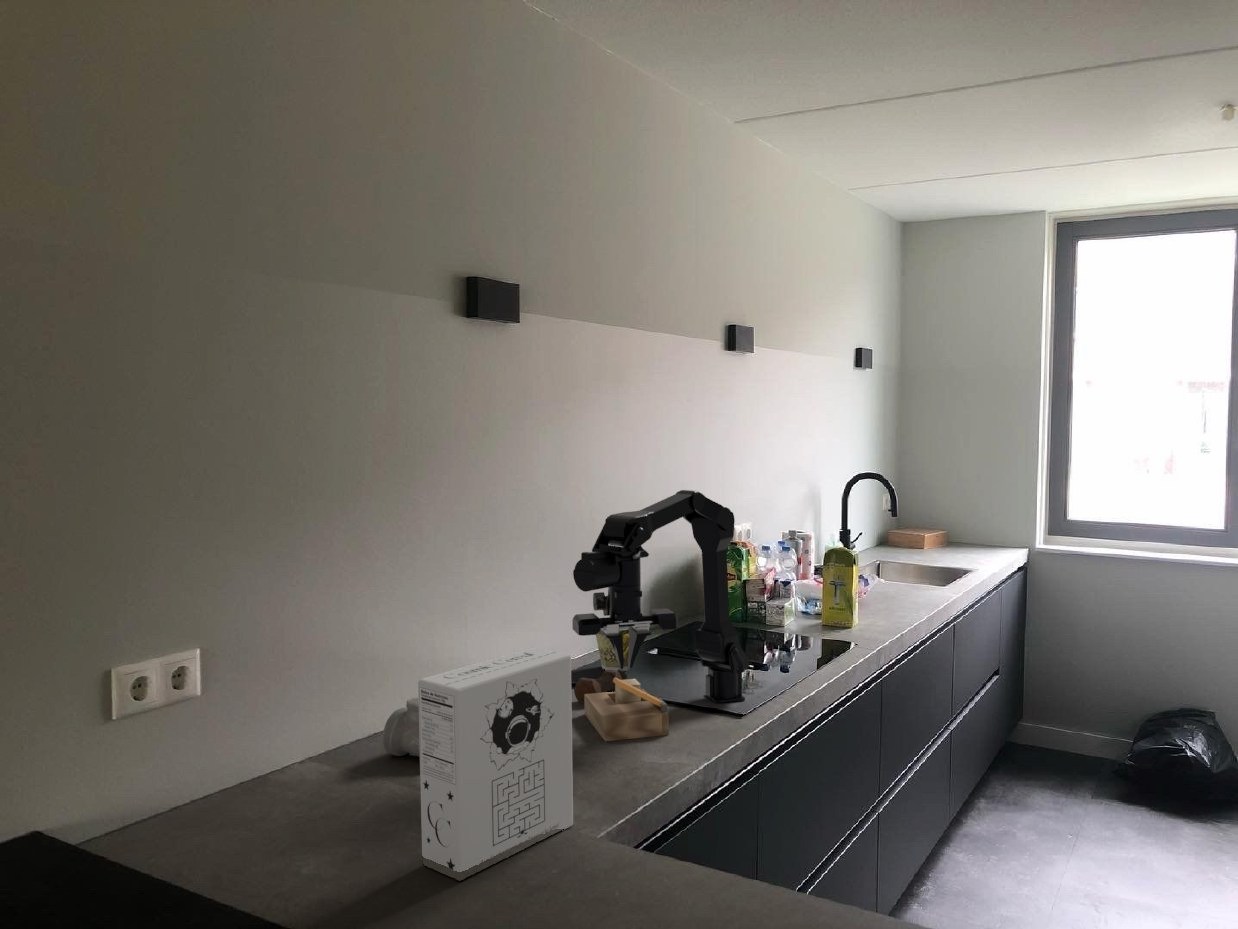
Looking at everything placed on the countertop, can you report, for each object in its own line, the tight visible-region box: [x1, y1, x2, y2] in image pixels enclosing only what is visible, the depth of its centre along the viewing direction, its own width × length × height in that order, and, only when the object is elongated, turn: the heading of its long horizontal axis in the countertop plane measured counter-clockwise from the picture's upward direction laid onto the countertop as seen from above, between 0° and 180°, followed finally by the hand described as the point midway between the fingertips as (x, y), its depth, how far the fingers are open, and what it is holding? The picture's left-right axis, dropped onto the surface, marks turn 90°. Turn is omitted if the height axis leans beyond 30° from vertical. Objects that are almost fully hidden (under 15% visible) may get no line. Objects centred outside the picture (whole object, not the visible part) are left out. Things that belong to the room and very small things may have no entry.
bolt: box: [573, 670, 628, 705], centre depth 204 cm, size 6×5×15 cm
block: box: [583, 688, 670, 742], centre depth 185 cm, size 12×16×5 cm
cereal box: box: [417, 646, 574, 872], centre depth 134 cm, size 22×8×25 cm, turn 141°
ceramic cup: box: [595, 621, 632, 672], centre depth 223 cm, size 13×10×10 cm
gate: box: [613, 677, 666, 708], centre depth 181 cm, size 11×3×1 cm, turn 106°
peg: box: [615, 678, 642, 704], centre depth 189 cm, size 4×4×7 cm
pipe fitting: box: [381, 697, 420, 758], centre depth 168 cm, size 12×8×10 cm
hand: (625, 668), depth 180 cm, fingers closed
